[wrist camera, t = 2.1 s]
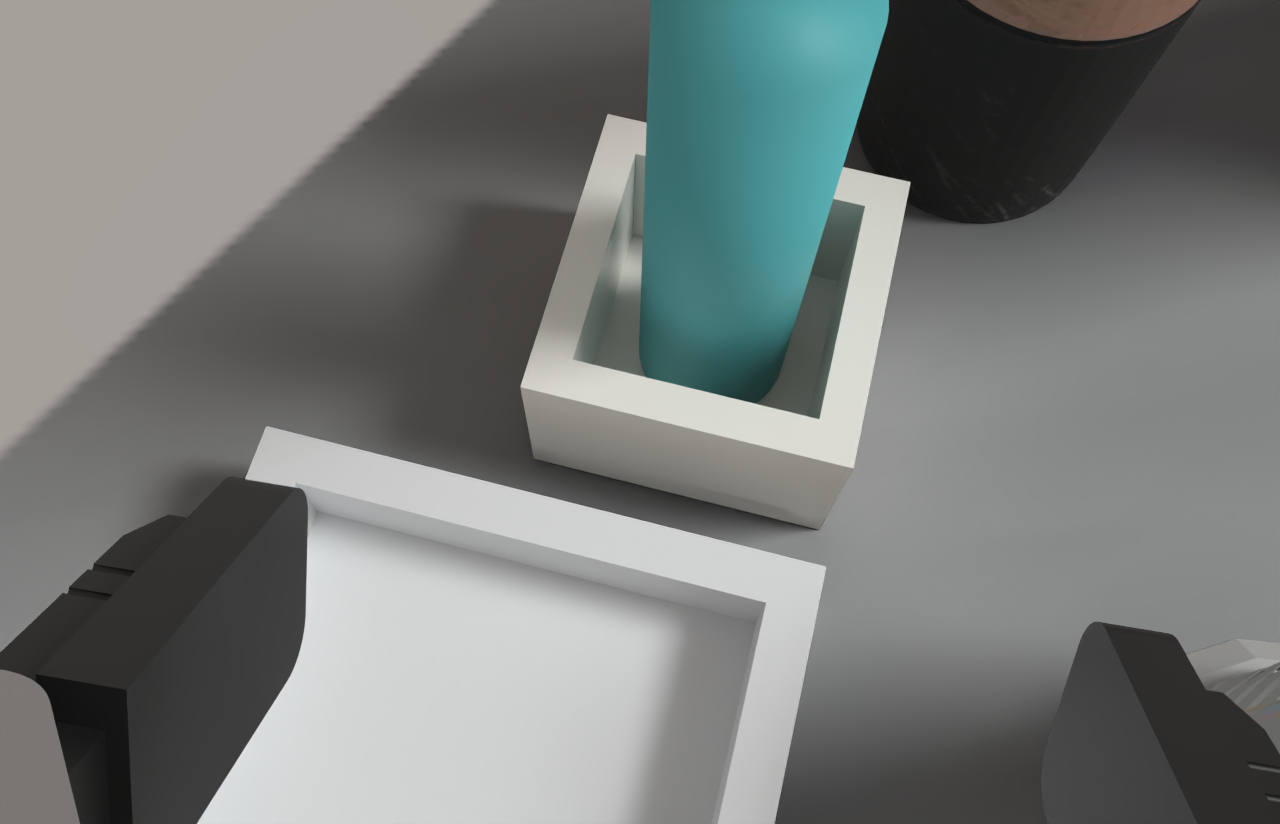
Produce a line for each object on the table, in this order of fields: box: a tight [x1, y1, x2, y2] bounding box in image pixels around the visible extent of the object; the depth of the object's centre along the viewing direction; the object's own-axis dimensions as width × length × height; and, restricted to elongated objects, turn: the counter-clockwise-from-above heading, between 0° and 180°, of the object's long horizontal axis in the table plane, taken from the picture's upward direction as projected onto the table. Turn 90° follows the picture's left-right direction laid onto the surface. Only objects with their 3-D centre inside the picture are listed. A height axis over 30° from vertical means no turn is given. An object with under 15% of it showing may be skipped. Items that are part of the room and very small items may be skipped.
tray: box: [197, 426, 826, 824], centre depth 28 cm, size 12×14×4 cm
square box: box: [520, 114, 911, 530], centre depth 32 cm, size 8×8×5 cm
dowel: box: [639, 0, 889, 404], centre depth 27 cm, size 4×4×14 cm
